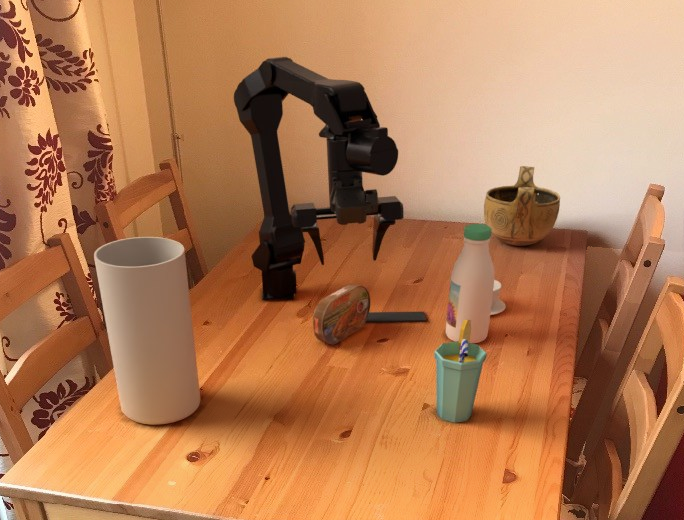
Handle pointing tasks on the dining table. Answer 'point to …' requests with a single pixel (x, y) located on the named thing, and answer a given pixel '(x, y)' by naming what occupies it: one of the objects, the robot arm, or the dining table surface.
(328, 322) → the tin
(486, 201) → the ceramic bowl
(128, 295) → the cylinder vase
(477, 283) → the milk bottle
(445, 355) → the cup
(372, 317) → the strip
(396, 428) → the dining table surface
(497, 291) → the teacup
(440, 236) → the dining table surface
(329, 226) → the dining table surface
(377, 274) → the dining table surface
